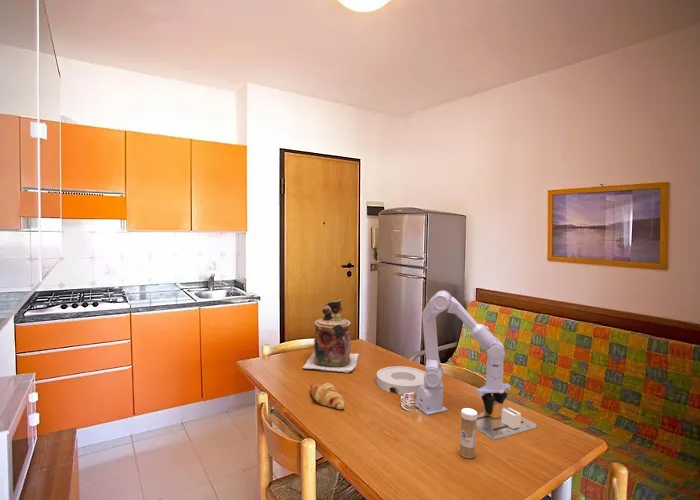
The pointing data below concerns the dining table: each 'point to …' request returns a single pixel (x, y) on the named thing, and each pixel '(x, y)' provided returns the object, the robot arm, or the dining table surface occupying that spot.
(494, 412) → the cap
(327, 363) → the cookie jar
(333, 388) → the croissant
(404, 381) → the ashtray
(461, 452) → the sprinkles bottle
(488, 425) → the console
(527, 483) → the dining table surface
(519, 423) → the fader cap
